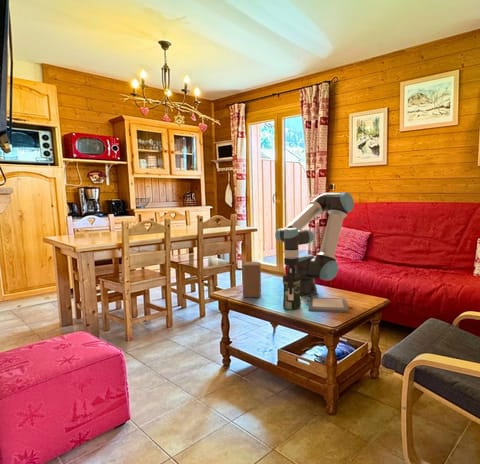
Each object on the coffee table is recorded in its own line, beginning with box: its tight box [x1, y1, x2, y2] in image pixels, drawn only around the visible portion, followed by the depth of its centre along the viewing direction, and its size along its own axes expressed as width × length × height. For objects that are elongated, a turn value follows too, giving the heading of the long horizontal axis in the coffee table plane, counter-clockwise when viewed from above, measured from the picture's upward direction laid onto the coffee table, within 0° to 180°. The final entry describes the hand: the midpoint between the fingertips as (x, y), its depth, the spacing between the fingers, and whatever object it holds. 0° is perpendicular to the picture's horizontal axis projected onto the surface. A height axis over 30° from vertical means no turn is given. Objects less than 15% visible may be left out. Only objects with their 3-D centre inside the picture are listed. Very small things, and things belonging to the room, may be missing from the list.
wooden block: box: [241, 261, 262, 298], centre depth 211 cm, size 10×10×20 cm
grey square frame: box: [308, 296, 350, 313], centre depth 190 cm, size 20×20×2 cm
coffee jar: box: [282, 273, 302, 311], centre depth 187 cm, size 10×8×19 cm
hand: (291, 296), depth 188 cm, fingers open, 13 cm apart
